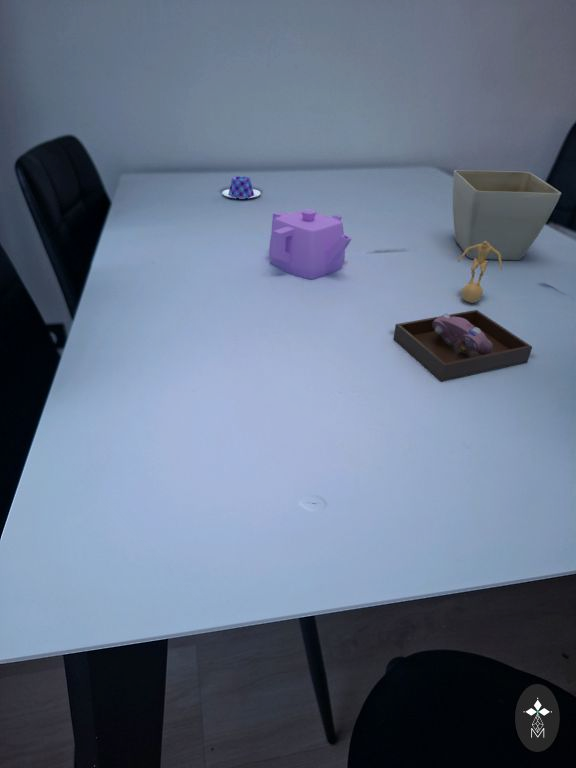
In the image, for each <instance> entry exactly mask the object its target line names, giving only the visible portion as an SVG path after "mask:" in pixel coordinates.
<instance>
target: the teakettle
mask: <svg viewBox="0 0 576 768" xmlns="http://www.w3.org/2000/svg"><path fill="white" fill-rule="evenodd" d="M342 219H343V217H342V216H340V215H332V216H331V217H330V216H328V215H325V214H321V213H318V212H317V211H316V210H315V209H311V208H307V209H306V208H304V209H302V210H299V211H294V212H290V213H286V212H282V211H277V212H274V213H272V221H271V234H270V240H269V248H268V252H269V253H268V256H269V260H270V263H271V265H273V266H274V267H276V268H278V269H280V270H282V271H284V272H285V273H286V272H287V273H289V274H292V275H293V276H297V277H301V278H303V279H307V280H314V279H318V278H321V277H325V276H326V275H329V274H331V273H334V272H336V271H338V270H340V269H342V268H343V265H344V262H345V257H346V249H347V247H348V246H349V244H350V243H351V241H352V237H350V236H349V235H347V234H345V231H344V225H343V222H342Z"/></svg>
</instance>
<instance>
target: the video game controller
mask: <svg viewBox="0 0 576 768" xmlns="http://www.w3.org/2000/svg"><path fill="white" fill-rule="evenodd" d="M449 315H450V314H448V313H444V314H442V315H439V316H440V317H439V316H437V317H438V318H436V319H435V320H434V321H433V322H432V326H433V328H434V330H435V332H436V333H438V334H439V335H440V336H441V337H442V338H443V340H444V341H445V342H446V343H447V344H448V345H451V346H452V345H454V344H455V343H456V342H457V341H458V340H457V337H458V338H460V339H461V342H460V343H459V344H458V347H459V349H460V350H461V351H462V352H464V353H469V352H470V351H476V352H478V353H479V354H481V355H486V354H490V353H491V351H492V348H493V345H492V343H491V342H490V341H489V340H488V339H487V338H486V336H485V334H484V333H483V332H482V331H481V330H480V329H479V328H477V327H474V326H473V325H472V324H470V322H469V321H467V320H466V319H464V318H460V317H453V316H449Z"/></svg>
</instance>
